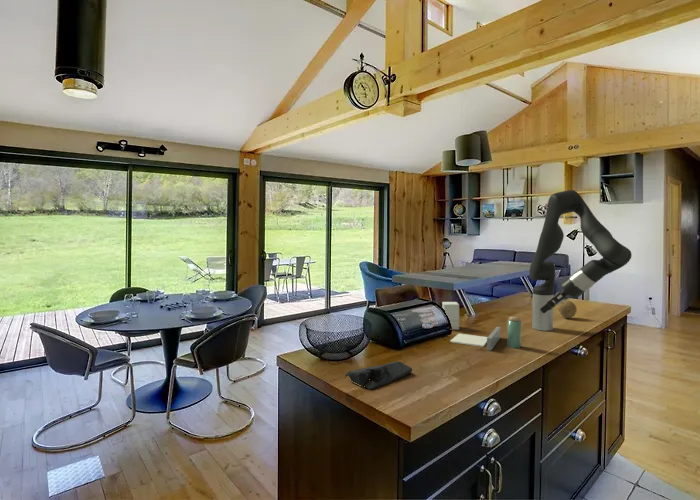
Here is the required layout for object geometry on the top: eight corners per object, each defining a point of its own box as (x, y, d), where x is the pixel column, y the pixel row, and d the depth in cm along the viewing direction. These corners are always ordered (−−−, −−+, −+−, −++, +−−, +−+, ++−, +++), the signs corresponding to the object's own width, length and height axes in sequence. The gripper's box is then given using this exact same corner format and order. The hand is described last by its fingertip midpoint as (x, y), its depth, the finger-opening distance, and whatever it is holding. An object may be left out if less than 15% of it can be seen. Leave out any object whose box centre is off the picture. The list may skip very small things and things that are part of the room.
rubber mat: (458, 334, 181) (458, 333, 181) (489, 338, 174) (489, 337, 174) (450, 342, 169) (450, 340, 169) (483, 346, 162) (483, 345, 162)
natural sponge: (562, 315, 219) (562, 298, 218) (579, 318, 212) (579, 300, 211) (555, 318, 213) (555, 300, 212) (572, 321, 206) (573, 302, 206)
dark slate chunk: (419, 377, 130) (419, 363, 130) (367, 393, 118) (367, 377, 117) (390, 364, 143) (389, 351, 142) (340, 377, 130) (339, 363, 130)
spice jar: (508, 343, 166) (508, 315, 165) (521, 345, 163) (521, 317, 163) (506, 347, 161) (506, 318, 161) (519, 348, 159) (520, 319, 158)
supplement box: (456, 326, 197) (456, 301, 197) (459, 329, 190) (459, 304, 189) (442, 325, 198) (442, 301, 197) (444, 329, 191) (444, 304, 190)
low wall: (496, 337, 176) (496, 326, 176) (500, 337, 175) (500, 326, 175) (486, 350, 157) (486, 338, 157) (490, 350, 156) (491, 338, 156)
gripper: (574, 274, 153) (542, 300, 161) (566, 277, 142) (532, 305, 150) (589, 288, 150) (556, 314, 157) (582, 293, 139) (547, 320, 147)
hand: (544, 309), depth 154 cm, fingers open, 8 cm apart
